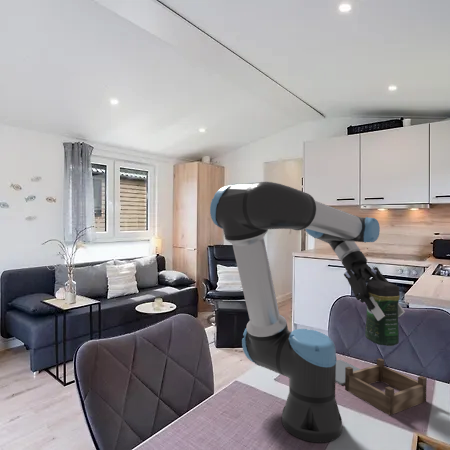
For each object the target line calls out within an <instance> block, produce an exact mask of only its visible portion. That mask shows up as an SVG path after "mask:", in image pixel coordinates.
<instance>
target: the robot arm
mask: <svg viewBox="0 0 450 450" xmlns="http://www.w3.org/2000/svg"><path fill="white" fill-rule="evenodd" d="M209 212H210V218H211V221H212V222H213V224H214V225H216V226H217V227H218V228H220V229H221V230H223V231H222V232H223V235H224V239H225V241H226V242H228V243H230V244H231V245H232V249H233V254H234V258H235V262H236V266H237V271H238V275H239V280H240V283H241V287H242V292H243V296H244V301H245V304H246V310H247V313H248V318H249V321H248V322H247V324H246V328H244V332H243V334H242V336H243V338H242V339H241V347H242V351H243V353H244V355H245V357H246V358H247V359H248V360H249V361H251V362H252V363H254V364H255V365H257V366H259V367H261V368H264V369H267V370H270V371H272V372H275V373H277V374H279V375H281V376H284V377H285V378H288V379H289V380H288V381H289V384H288V385H289V392H288V395H287V399H286V401H285V405H284V407H283V409H282V418H281V421H282V425H283V427H284V429H285V430H286V431H287V432H288V433H289V434H291V435H292V436H294V437H295V438H298V439H299V440H303V441H307V442H309V443H310V442H312V443H329V442H332V441H335V440H336V439H338V438H339V437H340V436H341V434H342V433H343V420H342V419H343V418H342V416H341V414H340V410H339V406H338V403H337V399H336V382H335V380H336V361H337V360H338V359H337V352H336V345H335V343H334V341H333V339H331V337H329V336H328V335H327V334H325V333H323V332H321V331H317V330H314V329H307V328H298V329H296V328H295V329H294V330H292V331H290V330H289V328H288V322H287V319H286V317H284V315H281V314H280V310H279V306H278V299H277V296H276V291H275V286H274V281H273V277H272V272H271V267H270V262H269V258H268V253H267V249H266V248H267V247H266V243H265V238H264V237H265V236H266V235H267V233H268V231H269V230H283V229H284V230H294V231H303V230H305V232H306V234H308V235H309V236H311V237H312V238H314V239H317V240H319V241H322V242H324V243H327V244H329V246H330V247H331V249H332V250H333V252H334V253H335V255H336V256H337V258H338V260H339V261H340V262H341V264H342V266H343V267H344V269H345V270H346V271H345V272H344V273H343V276H344V277H345V279H346V280H347V282H348V285H349V286H350V288H351V291H352V293H353V294H354V295H353V296H354V297H355V299H356V300H357V301H359V302H361V303H362V304H363V303H365V305H366V307H367V306H368V308H369V309H370V310H371V311H372V313H373V314H374V316H375V317H376V319H377V320H378V321H379V320H381V319H382V318H383V317H384V316H385V315H384V313H383V312H382V310H381V309H380V307H379V306H378V304H377V303H376V302H375V300H374V298H373V297H370V296H369V292H368V289H367V283H368V282H369V281H373V280H381V281H384V282H387V283H390V282H389V281H388V279H387V278H386V277H385V276H384V275H383V274H382V273H381V271H380V270H379V268H378V266H375V267H374V268H372V267H370V266H369V265H368V264H367V263H368V258H367V257H366V256H365V254H364V253H363V252H362V251H361V249H360V247H359V246H358V244H357V243H375V242H377V240H378V239H379V236H380V229H381V228H380V223H379V220H378V219H377V218H375V217H368V216H366V217H359V216H357V215H355V214H352V213H348V212H346V211H344V210H340V209H338V208H336V207H332V206H330V205H327V204H325V203H322V202H320V201H317V200H316V199H315V198H314V197H313V196H312V195H311V194H309V193H307V192H305V191H302V190H299V189H297V188H294V187H291V186H288V185H285V184H282V183H279V182H272V181H260V182H248V183H234V184H229V185H225V186H222V187H221V188H219V189H218V190H217V191H216V192H215V193H214V196H213V198H212V199H211V202H210V207H209ZM369 297H370V298H369ZM405 313H406V311H405V310H404V308H403V306H402V305H401V304H400V301H399V302H398V318H399V317H401V316H403V314H405Z"/></svg>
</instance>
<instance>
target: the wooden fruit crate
mask: <svg viewBox="0 0 450 450" xmlns="http://www.w3.org/2000/svg"><path fill="white" fill-rule="evenodd" d="M359 369H360V370H357V371H353V368H351V367H345V384H344V389H345V391H347V392H348V393H351V394H352V395H354V396H356V397H357V398H359V399H361V400H362V401H365V403H368V404H370V405H371V406H373V407H374V408H377V409H378V410H380V411H381V412H383V413H385V414H387V415H388V416H392V415H394V414H397V413H400V412H402V411H406V410H408V409H411V408H414V407H416V406H418V405H420V404H424V403H427V383H428V380H427V377H425V376H423V375H419V376H418V377H417V380H416V379H414V378H412V377H410V376H407V375H406V374H403V373H401V372H399V371H397V370H394V369H392V368H389V367H387V366H385V359H382V357H380V358H376V364H375V365H372V366H369V367H365V368H359ZM376 382H383V383H384V384H386V385H388V386H385V387H384V391H383V390H381V389H379V388H377V387H375V386H373V385H371V384H374V383H376ZM395 389H396V390H398V391H397V392H395Z"/></svg>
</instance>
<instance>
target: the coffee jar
mask: <svg viewBox="0 0 450 450" xmlns="http://www.w3.org/2000/svg"><path fill="white" fill-rule="evenodd" d="M366 285H367V289H368V292H369V296H370V297H373V298H374V300H375V302H376V303H377V304H378V306H379V307H380V309H381V310H382V312H383V313H384V315H385V316H384V317H383V318H382V319H381V320H379V321H378V320H377V319H376V317H375V316H374V314H373V313H372V311H371V310H370V309H369V308H368V306H367V305H366V316H365V317H366V319H365V331H364V335H365V338H366V339H367V340H369V341H371V342H372V343H374V344H376V345H379V346H386V347H394V346H396V345H398V344H399V342H400V341H399V340H400V338H399V337H400V336H399V334H400V333H399V317H398V302H399V303H400V301H399V300H400V297H401V296H400V287H399V286H398V285H397V284H394V283H390V282H389V283H387V282H384V281H381V280H373V281H369V282H366ZM370 297H369V298H370Z"/></svg>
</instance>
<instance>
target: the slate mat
mask: <svg viewBox="0 0 450 450" xmlns="http://www.w3.org/2000/svg"><path fill="white" fill-rule="evenodd" d="M345 367H351V368H353V371H357V370H360V369H361V368H359V367H357V366H355V365H353V364H350V362H347V361H344V360H342V359H337V361H336V380H335V383H336V384H339V385H340V386H345Z"/></svg>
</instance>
